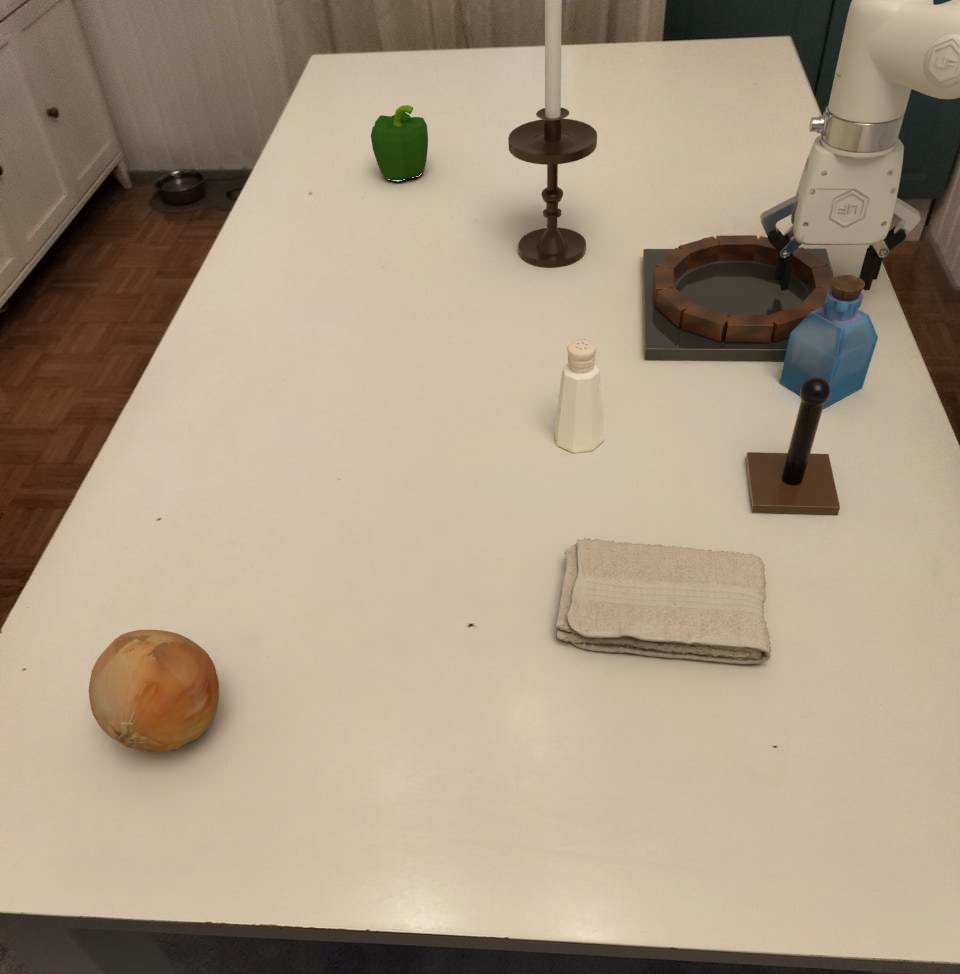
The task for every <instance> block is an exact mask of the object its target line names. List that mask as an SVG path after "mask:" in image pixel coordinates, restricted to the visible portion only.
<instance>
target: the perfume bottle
mask: <svg viewBox="0 0 960 974" xmlns="http://www.w3.org/2000/svg"><path fill="white" fill-rule="evenodd" d="M864 286H865V282H864V281H863V280H862V279H860V278H859V277H858V276H856V275H852V274H840V275H837V276H834V278H833V280H832V288H830V289H829V290H828V292H827V296H826V300H825V303H826V305H825V306H823V307H821V308H819V309H817V310H814V311H812V312H811V313H810V314H809V315H808V316H807V317H806V318H805V319H804V320H803V321H802V322H801V323H800V324H799V325H798V326H797V327H796V328H795V329H794V330H793V331H792V332H791V334H790V338H789V343H788V347H787V351H786V356H785V360H784V361H783V365H782V368H781V369H782V370H781V374H780V378H779V382H778V383H779V384H780V385H782V386H783V387H785V388H786V389H788V390H790V391H791V392H793V393H795V394H796V395H797V396H799V397H800V389H801V387H802V385H803V384H804V383H805V382H806V381H807V380H808V379H810V378H813V377H820V378H823V379H825V380H826V381H827V382H828V383H829V385H830V388H831V394H830V397H829V399H828V400H827V402H826V403H824V406H823V410H824V409H826V408H828V407H830V406H831V405H833V404H836V403H837V402H839V401H841V400H843V399H845V398H846V397H849V396H850V395H852V394H854V393H856V392H858V391H860V390H861V389H863V387H864V385H865V382H866V381H865V380H866V377H867V374H868V371H869V368H870V365H871V362H872V358H873V355H874V352H875V348H876V346H877V343H878V339H879V335H878V333H877V332H876V328H875V326H874V323H873V322H872V319H871V316H870V314H868V313H867V312H864V311H863V310H861V309H860V308H861V306H862V302H863V298H864V294H863V291H864V289H863V288H864Z"/></svg>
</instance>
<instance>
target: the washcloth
mask: <svg viewBox="0 0 960 974" xmlns="http://www.w3.org/2000/svg"><path fill="white" fill-rule="evenodd" d="M564 555H565V560H566V561H565V562H566V564H565V571H564V576H563V582H562V588H561V596H560V601H559V608H558V614H557V619H556V623H555V624H556V625H555V628H556V639H558V640H559V641H564V642H566V643H567V642H570V644H571V645H574V646H575V647H577V648H580V649H583V650H587V651H593V652H601V653H605V652H606V653H618V654H621V653H628V654H633V655H641V656H645V657H647V656H648V657H657V658H666V659H682V660H694V661H701V662H702V661H703V662H715V663H722V664H724V663H725V664H738V665H758V664H763V663H765V662H767V661H769V659H771V652H772V649H771V648H772V647H771V641H770V639H771V638H770V637H771V636H770V632H769V628H768V626H767V622H766V620H765V607H764V606H765V605H764V603H765V602H766V600H767V594H766V592H767V591H766V588H767V582H766V574H765V564H764V560H763V559H762V557H760V556H758V555H756V554H753V553H743V552H740V551H739V552H734V551H725V550H720V551H719V550H717V551H713V550H712V549H704V548H703V549H701V548H698V549H697V548H694V547H683V546H676V545H672V546H671V545H663V544H651V543H633V542H625V541H623V542H622V541H619V542H618V541H617V542H616V541H614V540H605V539H599V538H598V539H597V538H595V539H592V538H587V537H584V538H582V539H577V540H576V543H575V544H573V545H571V546H569V547H568V548H566V550H565V552H564Z"/></svg>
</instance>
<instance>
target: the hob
mask: <svg viewBox="0 0 960 974" xmlns="http://www.w3.org/2000/svg"><path fill="white" fill-rule="evenodd" d="M804 248H805V249H806V250H807V251H809V252H810V253H812V254H813V255H815V256H816V257H818V258H819V259H821V260H822V261H823V262H825V263H826V264H828V267H830V269H831V273H832V276H833V278H835V276H834V271H833V269H832V264H831V260H830V257H829V253H828V249H827V248H825V247H824V248H819V247H818V248H815V247H814V248H808V247H807V248H806V247H804ZM674 249H675V248H643V251H642V302H643V303H642V304H643V305H642V306H643V350H644V351H643V356H644V359H643V360H644V361H706V362H707V361H713V362H718V361H721V362H723V361H724V362H725V361H726V362H784V360H785V356H786V351H787V347H788V343H789V338H790V337H788V338H785V339H782V340H779V341H776V342H774V341H773V340H772V339H771V340H770V343H760V342H725V338H723V339H722V340H721V341H717V340H714V339H711V338H707V337H704V336H701V335H698V334H695V333H691V332H688V331H685V330H682V329H681V327H682V326H681V327H677V326H676V325H675V324H674V323H672V322H671V321H670V320H669V319H668V318H667V317H666V316H665V315H663V314H662V313H661V312H660V311H659V310H658V309H657V308H656V305H654V284H653V283H654V273H655V267H656V265H657V264H658V263H659V262H660V261H661V260H662V259H664V258H665V257H666V256H667V255H668V254H669V253H670V252H671V251H672V250H674ZM775 270H776V267H775V266H772V265H768V264H764V263H760V262H757V261H715V262H711V263H708V264H705V265H701V266H698V267H695V268H691V269H688V270H687V271H686V272H685V273H684V274H683V275H682V276H681V277H679V278H678V279H677V280H676V281H675V282H674V286H675V288H676V289H677V290H678V291H679V292H681V293H682V294H683V295H684V296H685V297H686V298H688V299H689V300H690V301H691V302H692V303H694V304H695V305H699V306H702V307H706V308H709V309H712V310H716V311H719V312H722V313H726V314H729V315H770V314H773V313H776V312H780V311H783V310H786V309H789V308H792V307H795V306H798V305H801V304H802V303H803V302H804V301H805V299H806V298H807V297H808V296H809V295H810V293H809V289H808V285H807V284H805V283H804V282H803V281H801V280H800V279H798V278H797V277H796V276H794V275H793V274H791V277H790V281H789V286H788V289H786V291H781V287H780V283H779V280H775Z"/></svg>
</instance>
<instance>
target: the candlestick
mask: <svg viewBox="0 0 960 974" xmlns="http://www.w3.org/2000/svg"><path fill="white" fill-rule="evenodd" d="M562 14H563V0H544V108H543V107H542V108H541V109H538V111H536V113H535V116H536V117H537V118H539V119H537V120H532V121H529V122H525V123H522V124H521V125H519V126H517V127H515V128H514V129H512V131H510V133H509V135H508V137H507V138H508V139H507V141H508V142H507V143H508V152H509V153H510V154H511V155H512V156H513V157H514V158H516V159H518V160H520V161H521V162H522V161H523V162H525V163H530V164H534V165H546V187H545V188H544V189H542V191H541V198H542V200H543V202H544V203H545V204H546V206H545V207H546V208H544V209H543V210H542V216H543V217H544V218H546V227H544V228H538V229H535V230H532V231H530V232H527V233H526V234H524V235H523V236H522V237H520V239H519V241H518V244H517V249H518V250H517V251H518V256H519V257H520V259H521V260H522V261H524V262H525V263H526V264H529V265H531V266H534V267H540V268H561V267H567V266H569V265H572V264H574V263H577V262H578V261H580V260H582V258H583V257H584V256H585V254H586V251H587V241H586V239H585V237H584V235H582V234H581V233H579V232H577V231H576V230H573V229H570V228H565V227H558V219H559V218H560V217H561V216H562V214H563V213H562V212H563V211H562V209H561V208H559V203H560V202H561V201H562V199H563V196H564V190H563V189H562V188H561V187H559V185H558V183H559V181H558V180H559V165H563V164H564V165H565V164H569V163H573V162H578V161H580V160H582V159H584V158H587V157H588V156H590V155H591V154H592V153H594V152H595V150H596V149H597V145H598V132H597V131H596V129H595V128H594V127H593V126H591V125H590V124H588V123H587V122H584V121H580V120H577V119H571V118H567V117H568V116H569V115H570V111H569V110H568V109H567V108H564V107H562V106H561V105H562V103H561V102H562V91H561V90H562V25H563V24H562V20H563V19H562V17H563V15H562Z"/></svg>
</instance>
